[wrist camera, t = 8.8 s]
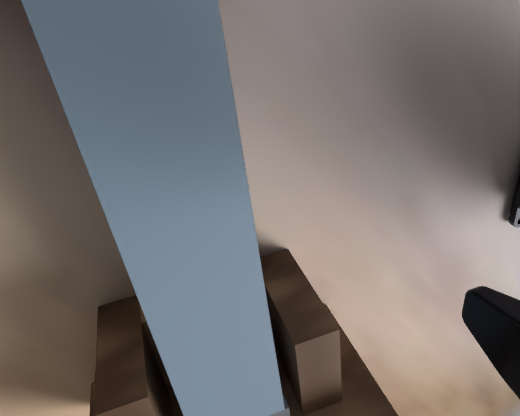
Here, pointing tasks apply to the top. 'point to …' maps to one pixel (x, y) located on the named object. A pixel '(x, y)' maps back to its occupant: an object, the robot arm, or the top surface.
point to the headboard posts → (286, 347)
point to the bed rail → (171, 186)
